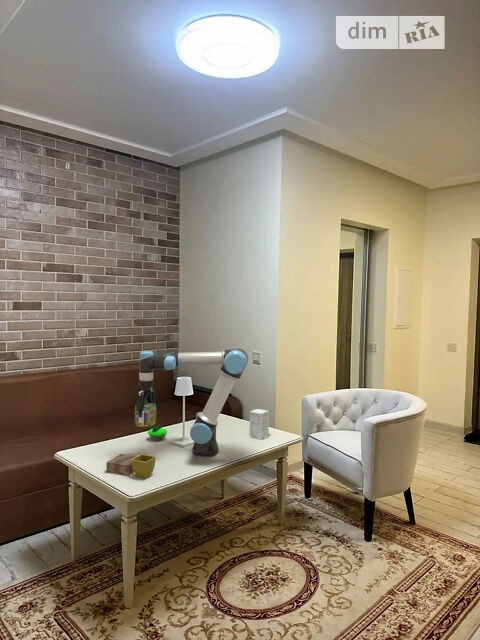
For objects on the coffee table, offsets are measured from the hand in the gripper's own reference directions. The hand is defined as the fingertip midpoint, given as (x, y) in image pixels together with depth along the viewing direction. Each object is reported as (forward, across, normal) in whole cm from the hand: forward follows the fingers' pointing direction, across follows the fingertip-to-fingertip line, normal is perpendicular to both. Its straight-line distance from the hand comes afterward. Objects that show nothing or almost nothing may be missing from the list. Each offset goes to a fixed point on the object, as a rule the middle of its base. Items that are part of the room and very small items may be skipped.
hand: (145, 420), depth 243 cm
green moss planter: (+21, -30, -8) cm, 37 cm away
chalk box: (+3, 0, 0) cm, 3 cm away
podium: (+20, +19, -1) cm, 28 cm away
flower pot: (+21, +23, +12) cm, 33 cm away
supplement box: (+21, -60, +48) cm, 80 cm away
